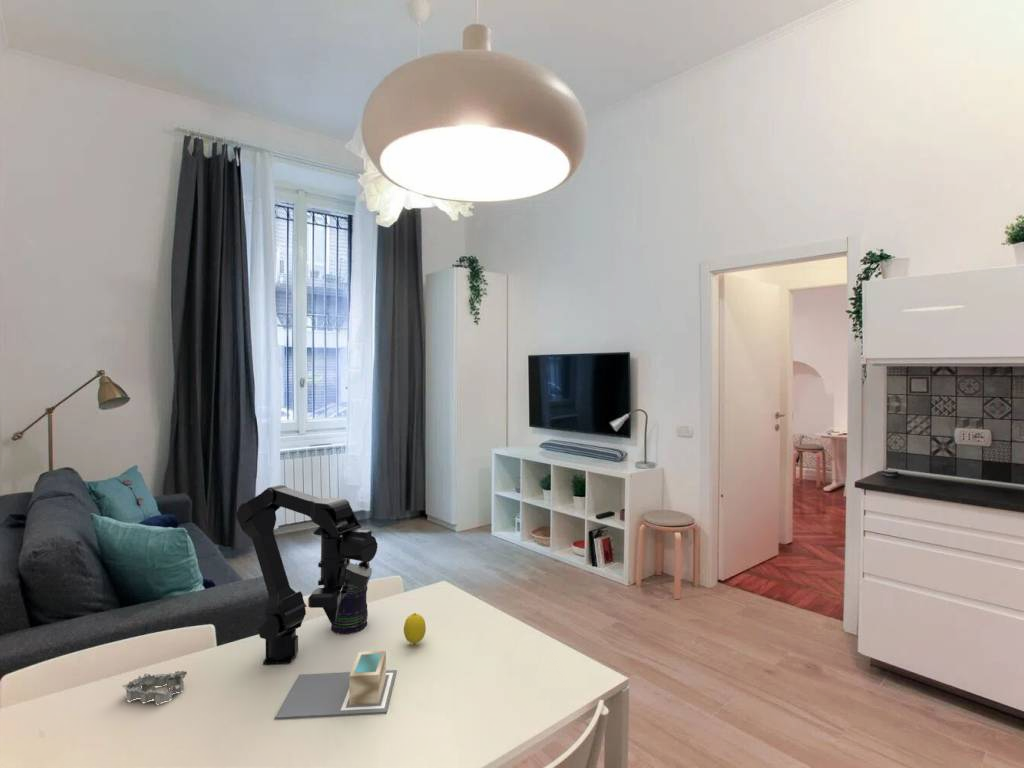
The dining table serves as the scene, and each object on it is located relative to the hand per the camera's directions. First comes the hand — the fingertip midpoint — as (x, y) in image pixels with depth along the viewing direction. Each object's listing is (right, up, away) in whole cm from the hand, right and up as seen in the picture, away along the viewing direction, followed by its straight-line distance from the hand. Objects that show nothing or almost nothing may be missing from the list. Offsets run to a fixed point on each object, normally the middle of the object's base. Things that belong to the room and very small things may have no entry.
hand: (333, 621), depth 126 cm
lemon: (+17, -12, +13) cm, 24 cm away
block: (+10, -5, -8) cm, 14 cm away
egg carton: (-35, -12, -9) cm, 39 cm away
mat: (+4, -12, -9) cm, 15 cm away
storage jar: (-3, -12, +24) cm, 27 cm away
